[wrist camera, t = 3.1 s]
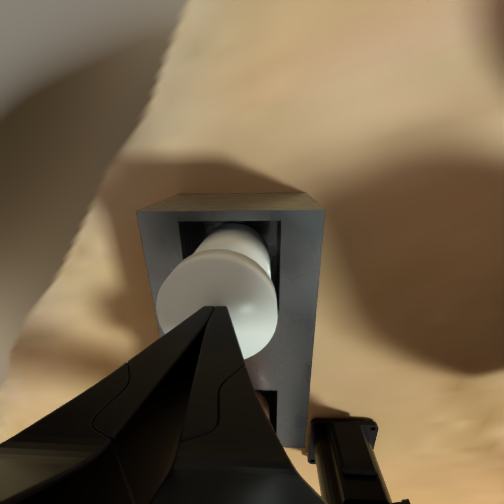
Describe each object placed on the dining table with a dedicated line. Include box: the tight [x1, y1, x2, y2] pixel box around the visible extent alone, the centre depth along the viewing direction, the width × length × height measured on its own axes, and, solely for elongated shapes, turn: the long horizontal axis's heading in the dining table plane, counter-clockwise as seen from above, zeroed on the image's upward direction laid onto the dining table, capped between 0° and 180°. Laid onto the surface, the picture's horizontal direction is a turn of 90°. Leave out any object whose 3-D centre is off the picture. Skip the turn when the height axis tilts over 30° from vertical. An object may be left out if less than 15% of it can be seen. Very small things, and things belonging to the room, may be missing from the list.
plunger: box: [156, 223, 278, 359], centre depth 11 cm, size 4×4×6 cm
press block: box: [136, 193, 325, 448], centre depth 17 cm, size 17×9×6 cm, turn 1°
